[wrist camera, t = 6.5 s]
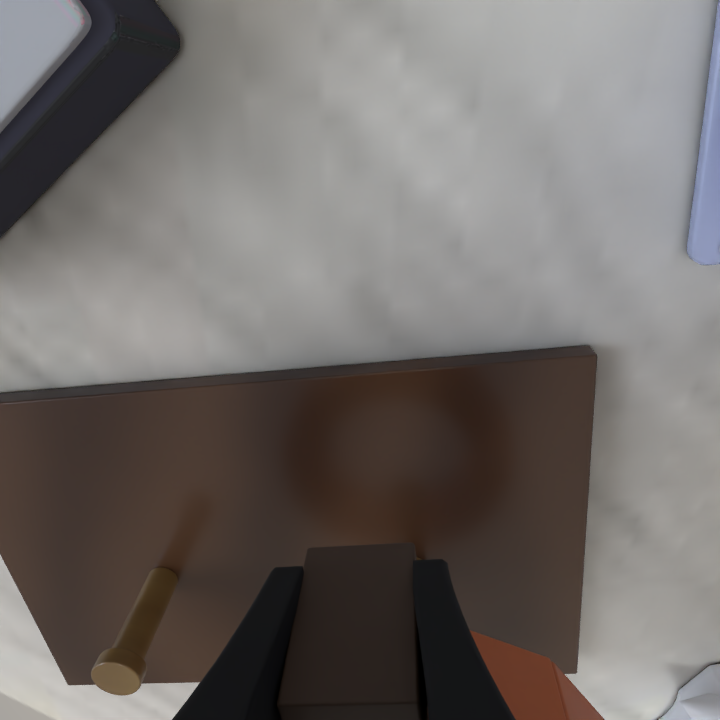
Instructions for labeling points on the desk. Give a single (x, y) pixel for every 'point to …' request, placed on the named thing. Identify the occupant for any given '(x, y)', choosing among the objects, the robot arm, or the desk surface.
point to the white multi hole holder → (698, 698)
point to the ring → (391, 647)
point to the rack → (293, 499)
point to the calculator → (68, 83)
